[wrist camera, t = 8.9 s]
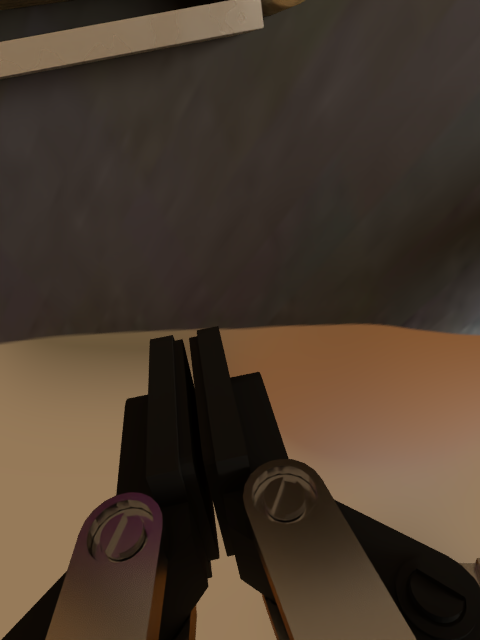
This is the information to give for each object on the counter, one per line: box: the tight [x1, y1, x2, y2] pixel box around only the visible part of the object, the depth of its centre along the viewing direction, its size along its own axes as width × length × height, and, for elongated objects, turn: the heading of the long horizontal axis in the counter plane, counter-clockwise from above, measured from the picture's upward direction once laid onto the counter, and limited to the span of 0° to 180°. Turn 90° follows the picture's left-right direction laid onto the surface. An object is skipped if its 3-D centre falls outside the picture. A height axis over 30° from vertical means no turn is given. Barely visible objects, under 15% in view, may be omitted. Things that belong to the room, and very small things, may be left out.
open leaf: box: [0, 0, 264, 80], centre depth 20 cm, size 15×1×4 cm, turn 99°
